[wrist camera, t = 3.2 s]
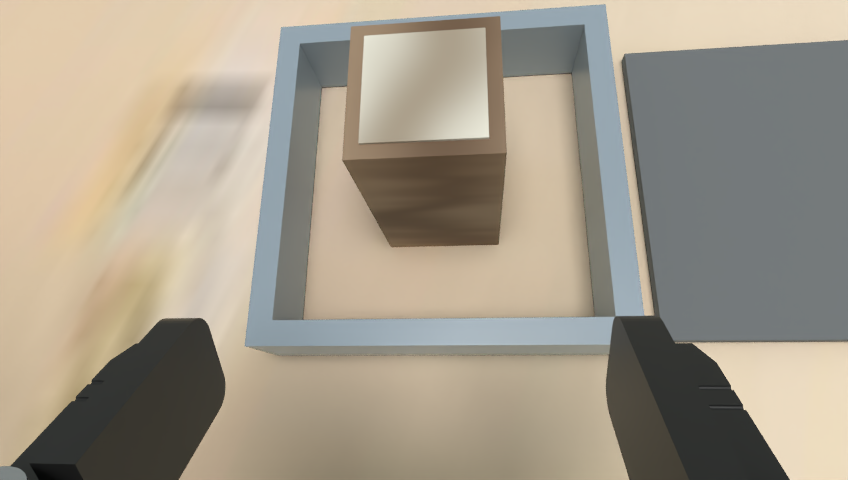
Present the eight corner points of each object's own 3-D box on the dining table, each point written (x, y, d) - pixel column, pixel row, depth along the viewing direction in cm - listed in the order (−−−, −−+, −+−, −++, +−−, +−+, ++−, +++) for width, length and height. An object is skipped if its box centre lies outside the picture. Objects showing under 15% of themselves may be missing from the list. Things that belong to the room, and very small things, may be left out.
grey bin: (278, 355, 23) (244, 346, 20) (304, 72, 28) (281, 27, 25) (623, 354, 22) (648, 344, 19) (590, 54, 27) (605, 4, 23)
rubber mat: (658, 342, 22) (663, 340, 21) (621, 61, 26) (624, 53, 26) (1030, 340, 20) (1046, 338, 20) (925, 43, 25) (935, 34, 24)
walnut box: (391, 247, 25) (341, 158, 16) (394, 152, 26) (350, 24, 17) (498, 244, 24) (506, 151, 15) (494, 147, 26) (500, 13, 17)
